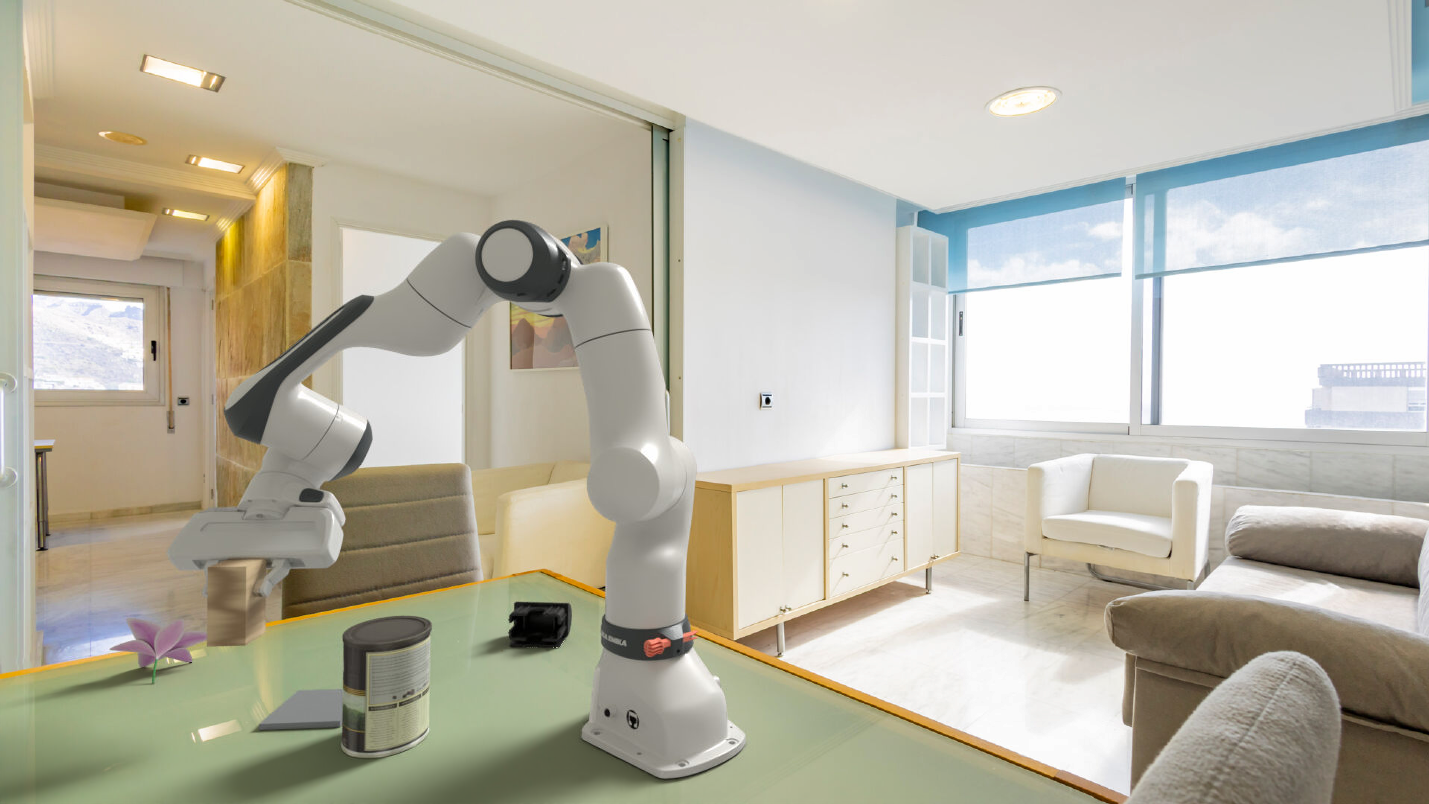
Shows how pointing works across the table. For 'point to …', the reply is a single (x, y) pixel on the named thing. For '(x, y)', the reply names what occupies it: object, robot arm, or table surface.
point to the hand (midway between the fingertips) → (234, 595)
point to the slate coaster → (307, 711)
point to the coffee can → (385, 686)
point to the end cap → (540, 624)
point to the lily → (160, 642)
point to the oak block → (235, 602)
